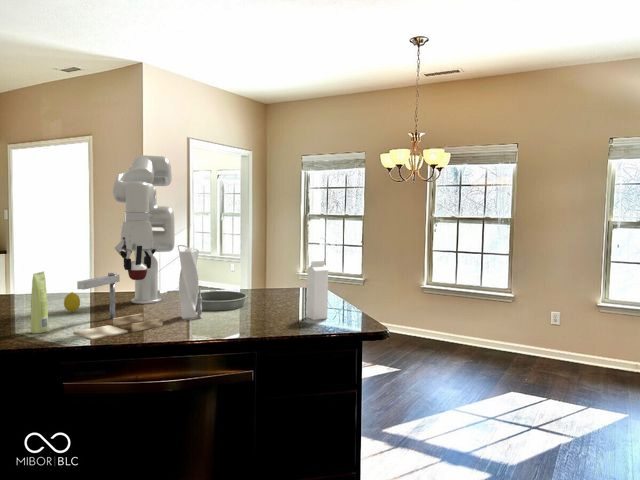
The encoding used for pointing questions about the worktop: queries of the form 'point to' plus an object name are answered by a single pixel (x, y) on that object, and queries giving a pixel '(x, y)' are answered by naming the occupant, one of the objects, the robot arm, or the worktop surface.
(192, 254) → the skyscraper
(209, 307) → the cake pan
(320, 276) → the milk
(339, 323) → the worktop surface
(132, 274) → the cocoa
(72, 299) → the lemon
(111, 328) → the pad
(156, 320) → the holder
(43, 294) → the tube
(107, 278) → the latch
